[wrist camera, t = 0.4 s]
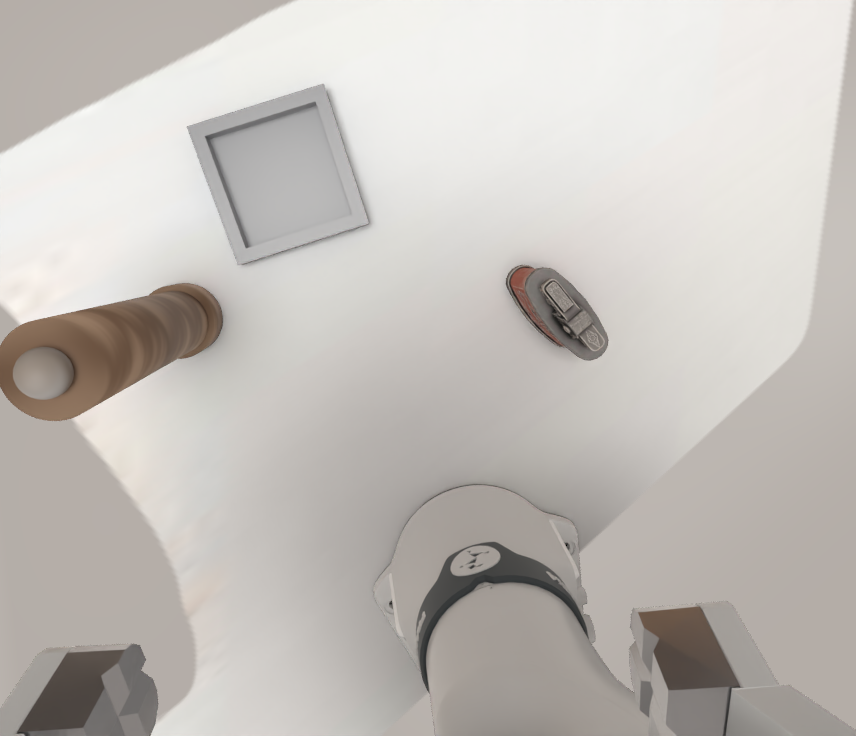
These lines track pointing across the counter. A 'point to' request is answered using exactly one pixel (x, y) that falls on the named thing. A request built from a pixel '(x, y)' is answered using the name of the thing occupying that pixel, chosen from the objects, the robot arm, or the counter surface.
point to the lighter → (557, 310)
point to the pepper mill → (103, 349)
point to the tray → (279, 174)
